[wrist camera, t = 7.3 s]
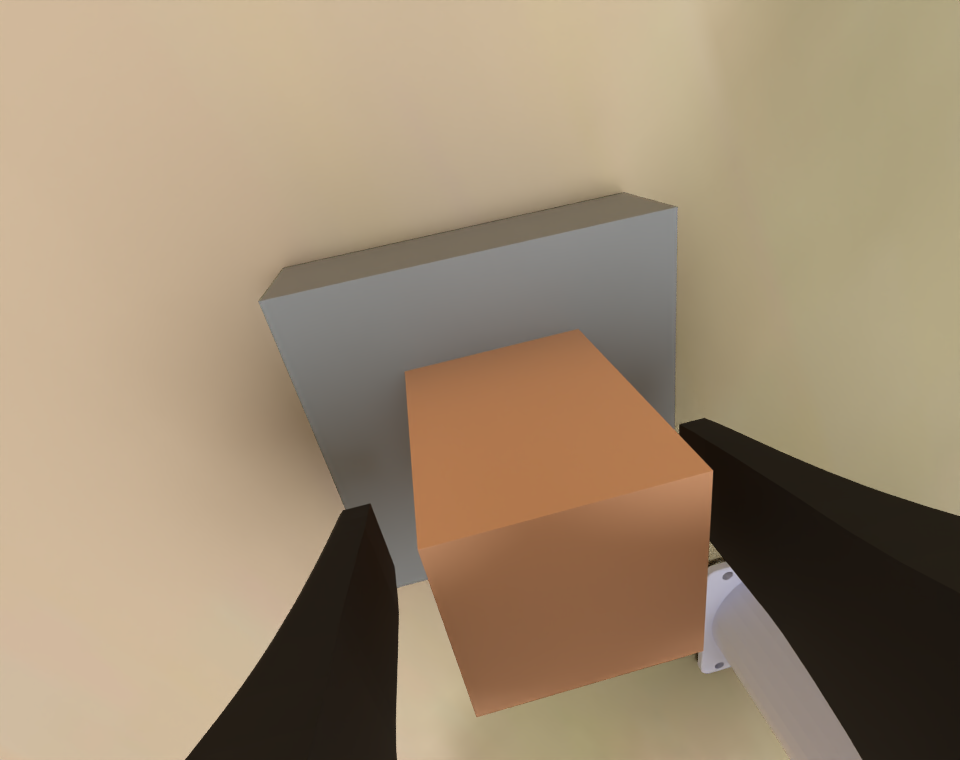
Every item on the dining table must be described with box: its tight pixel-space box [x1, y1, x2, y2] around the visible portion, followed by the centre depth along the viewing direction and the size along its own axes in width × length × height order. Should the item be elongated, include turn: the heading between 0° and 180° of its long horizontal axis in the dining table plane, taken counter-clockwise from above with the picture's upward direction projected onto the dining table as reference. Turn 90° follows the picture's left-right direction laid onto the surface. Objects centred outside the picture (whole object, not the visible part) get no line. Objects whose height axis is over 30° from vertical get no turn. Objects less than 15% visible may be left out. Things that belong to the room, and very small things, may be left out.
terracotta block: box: [405, 329, 713, 717], centre depth 11 cm, size 5×5×6 cm
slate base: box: [258, 193, 677, 588], centre depth 15 cm, size 10×10×3 cm
